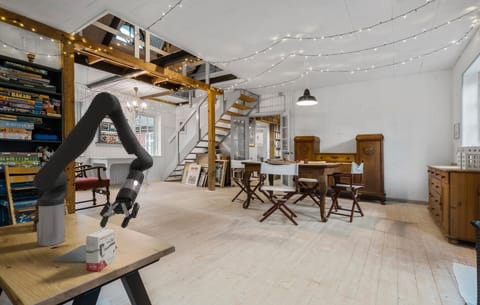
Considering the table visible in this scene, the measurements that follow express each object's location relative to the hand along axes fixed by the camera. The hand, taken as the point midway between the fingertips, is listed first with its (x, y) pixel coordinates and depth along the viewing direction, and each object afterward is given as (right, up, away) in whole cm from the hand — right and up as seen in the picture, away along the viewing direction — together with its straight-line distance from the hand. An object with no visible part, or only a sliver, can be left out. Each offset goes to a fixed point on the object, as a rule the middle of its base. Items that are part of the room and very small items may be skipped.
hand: (112, 227), depth 91 cm
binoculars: (-58, -12, +38) cm, 71 cm away
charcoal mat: (-12, -12, +3) cm, 17 cm away
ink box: (-1, -12, -6) cm, 13 cm away
